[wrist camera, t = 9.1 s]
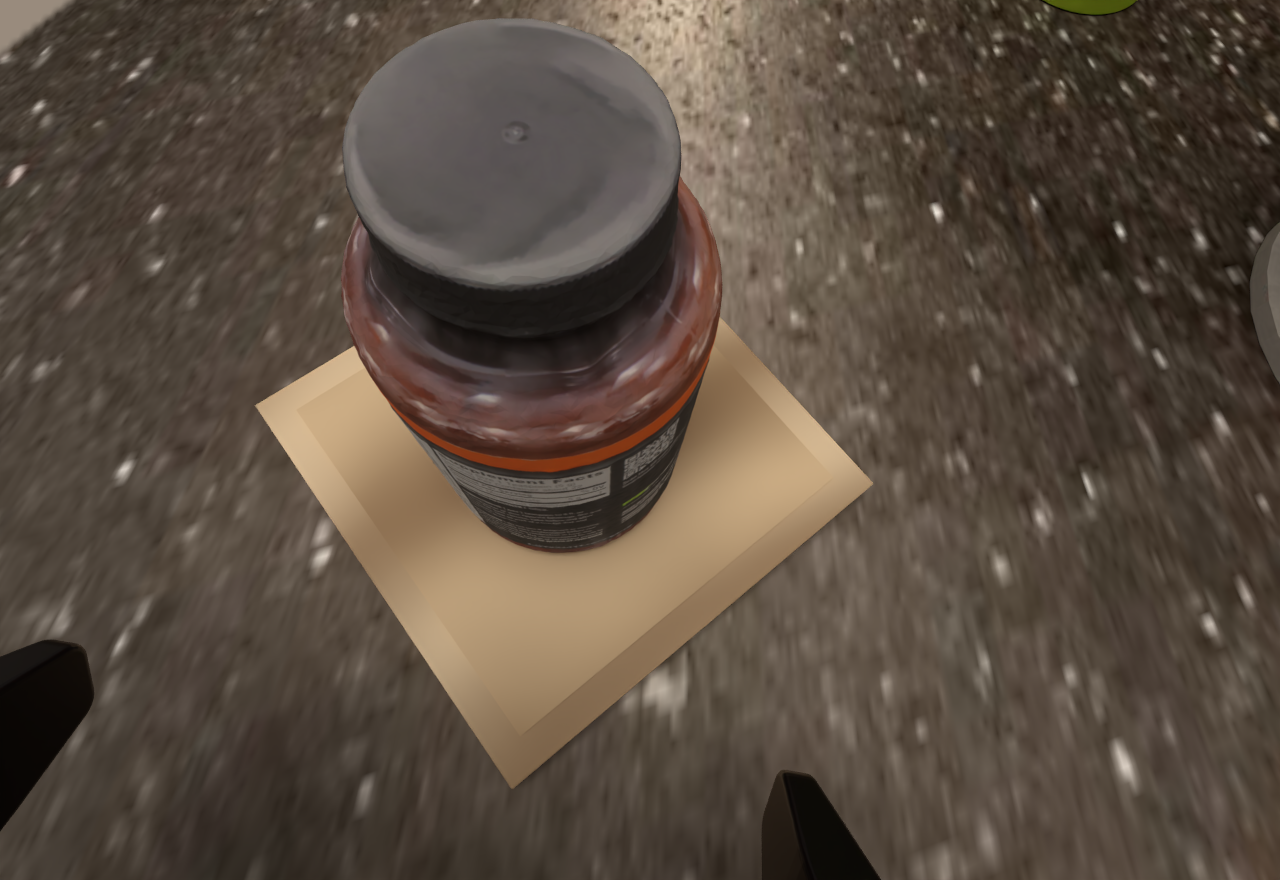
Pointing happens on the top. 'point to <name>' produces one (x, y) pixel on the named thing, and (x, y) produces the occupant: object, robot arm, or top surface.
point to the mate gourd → (1267, 298)
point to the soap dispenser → (1092, 5)
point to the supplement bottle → (530, 274)
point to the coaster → (574, 581)
